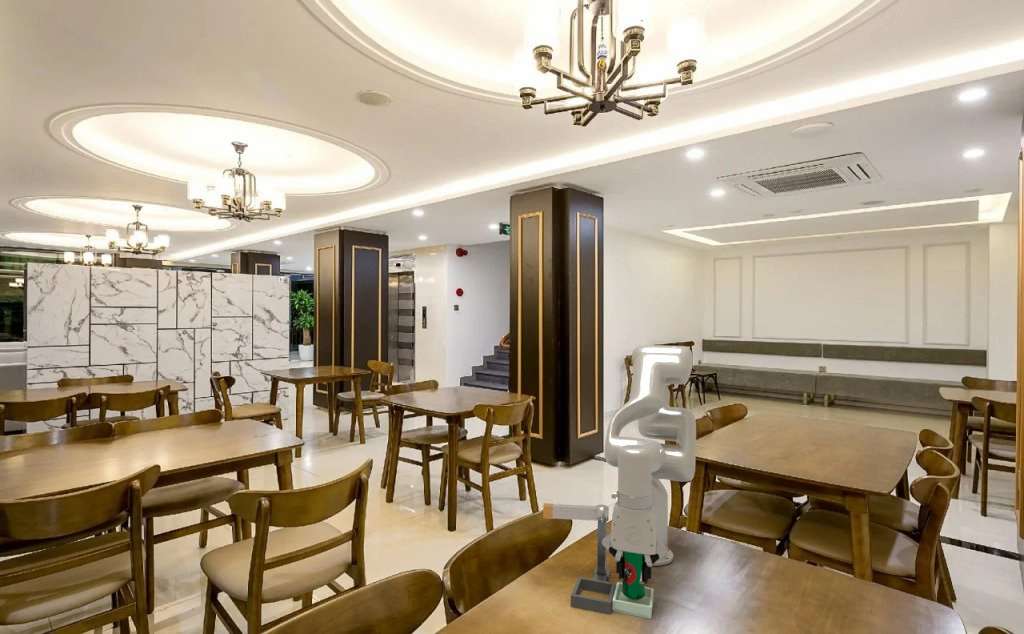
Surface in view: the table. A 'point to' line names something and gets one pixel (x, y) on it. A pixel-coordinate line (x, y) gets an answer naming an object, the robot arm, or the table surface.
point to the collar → (591, 602)
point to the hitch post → (601, 554)
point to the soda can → (633, 576)
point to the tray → (633, 603)
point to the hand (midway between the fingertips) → (633, 578)
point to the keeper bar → (576, 512)
